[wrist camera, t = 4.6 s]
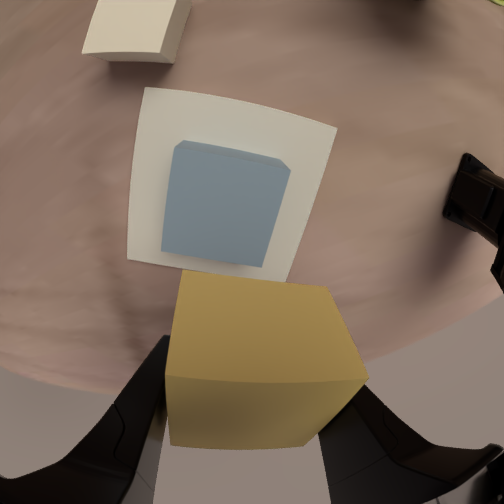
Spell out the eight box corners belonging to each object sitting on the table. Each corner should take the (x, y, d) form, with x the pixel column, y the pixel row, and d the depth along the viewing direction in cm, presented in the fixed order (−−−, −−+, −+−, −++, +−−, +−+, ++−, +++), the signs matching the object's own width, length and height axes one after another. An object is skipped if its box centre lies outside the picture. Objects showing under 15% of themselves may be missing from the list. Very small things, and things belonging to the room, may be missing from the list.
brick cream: (192, 4, 11) (184, -20, 8) (174, 63, 13) (159, 52, 10) (127, 3, 10) (105, -16, 7) (109, 61, 12) (81, 53, 9)
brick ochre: (327, 286, 9) (369, 377, 6) (286, 370, 12) (303, 446, 8) (182, 269, 9) (164, 374, 5) (177, 362, 11) (170, 445, 8)
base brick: (280, 159, 16) (290, 170, 14) (256, 243, 19) (261, 267, 16) (183, 139, 15) (174, 147, 12) (169, 228, 18) (160, 251, 15)
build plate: (332, 127, 16) (337, 128, 15) (282, 277, 22) (284, 283, 21) (148, 87, 14) (145, 87, 13) (130, 253, 19) (127, 258, 19)
